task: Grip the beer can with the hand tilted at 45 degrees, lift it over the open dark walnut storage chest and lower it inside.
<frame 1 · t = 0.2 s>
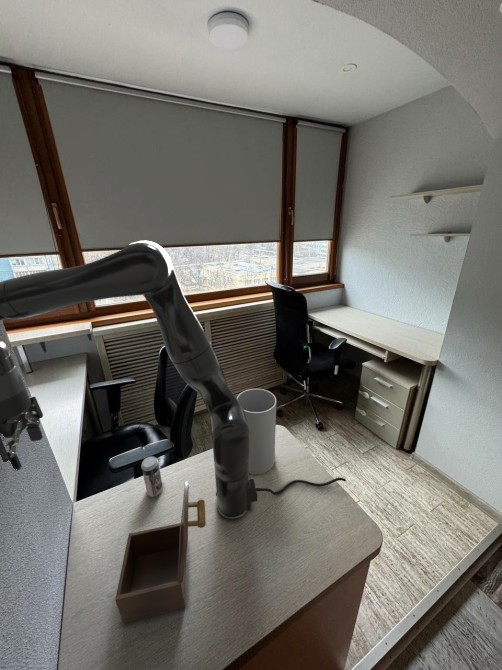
hand: (27, 453, 59), 29 cm above the table, tool pointing down, fingers open, 8 cm apart
cylinder vase: (256, 460, 93), on the table
chest: (158, 579, 62), on the table
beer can: (155, 490, 83), on the table
chest lid: (192, 528, 58), point 15 cm above the table, hinge at 100.0°
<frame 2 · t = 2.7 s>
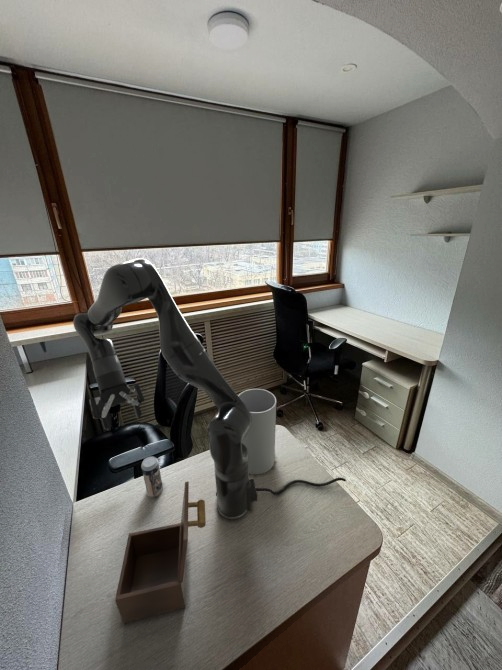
hand: (124, 423, 81), 20 cm above the table, tool tilted 35°, fingers open, 8 cm apart
nothing on the table moved.
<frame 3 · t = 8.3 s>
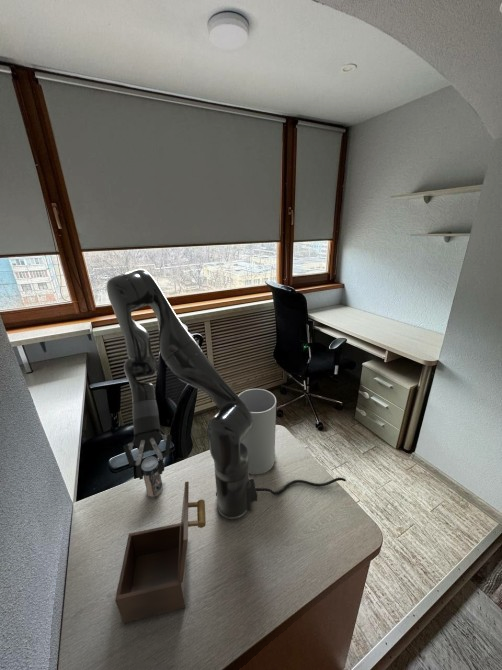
hand: (151, 476, 78), 8 cm above the table, tool tilted 45°, fingers closed on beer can, 4 cm apart
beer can: (155, 490, 83), on the table, touching gripper
everything else where it was.
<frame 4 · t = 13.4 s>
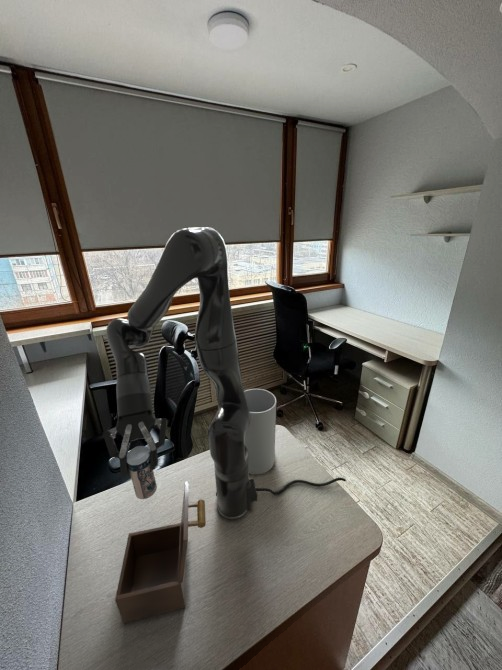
hand: (140, 472, 58), 26 cm above the table, tool tilted 45°, fingers closed on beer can, 4 cm apart
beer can: (146, 491, 63), point 18 cm above the table, touching gripper
everything else where it was.
when the fingers open (9 cm above the table, at t = 18.8 s): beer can stays where it is, resting on chest.
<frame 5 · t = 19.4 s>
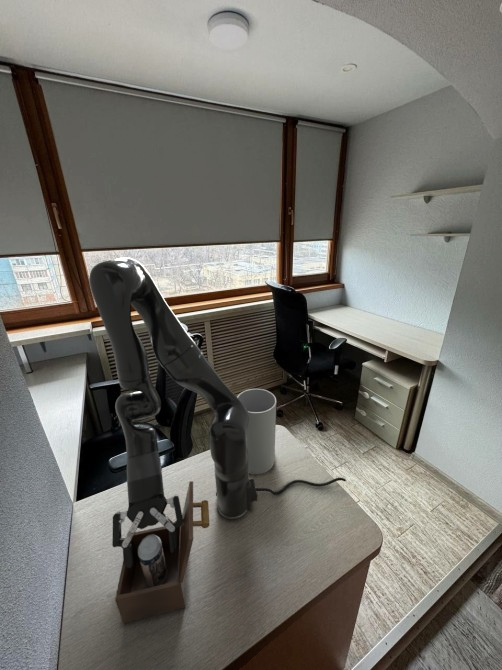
hand: (151, 559, 57), 10 cm above the table, tool tilted 45°, fingers open, 8 cm apart
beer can: (157, 577, 62), point 1 cm above the table, touching chest
chest lid: (194, 528, 58), point 15 cm above the table, hinge at 104.3°
everything else where it was.
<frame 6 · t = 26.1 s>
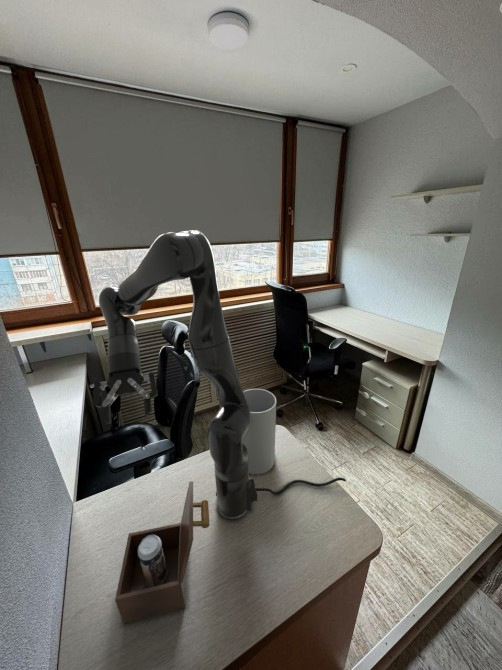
hand: (128, 419, 64), 33 cm above the table, tool tilted 45°, fingers open, 8 cm apart
nothing on the table moved.
at the end: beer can inside the target area in the chest (0.3 cm from its centre), point 0.5 cm above the chest's base; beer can tilted 0°; the gripper is holding nothing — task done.
